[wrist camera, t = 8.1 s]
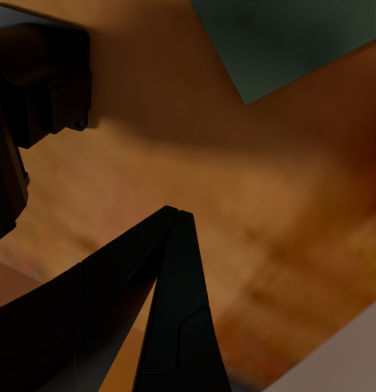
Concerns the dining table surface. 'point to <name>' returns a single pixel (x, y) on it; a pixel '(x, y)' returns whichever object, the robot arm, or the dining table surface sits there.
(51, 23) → the robot arm
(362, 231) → the dining table surface
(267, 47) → the base
